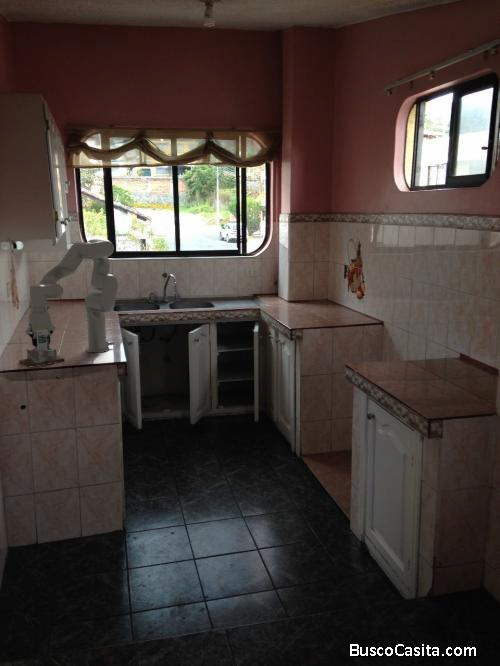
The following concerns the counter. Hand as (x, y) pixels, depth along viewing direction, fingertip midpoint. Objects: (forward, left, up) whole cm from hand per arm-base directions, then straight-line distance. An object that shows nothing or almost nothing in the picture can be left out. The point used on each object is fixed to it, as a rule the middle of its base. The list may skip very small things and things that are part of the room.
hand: (41, 344), depth 298 cm
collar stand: (0, 0, -9) cm, 9 cm away
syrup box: (0, 0, -6) cm, 6 cm away
